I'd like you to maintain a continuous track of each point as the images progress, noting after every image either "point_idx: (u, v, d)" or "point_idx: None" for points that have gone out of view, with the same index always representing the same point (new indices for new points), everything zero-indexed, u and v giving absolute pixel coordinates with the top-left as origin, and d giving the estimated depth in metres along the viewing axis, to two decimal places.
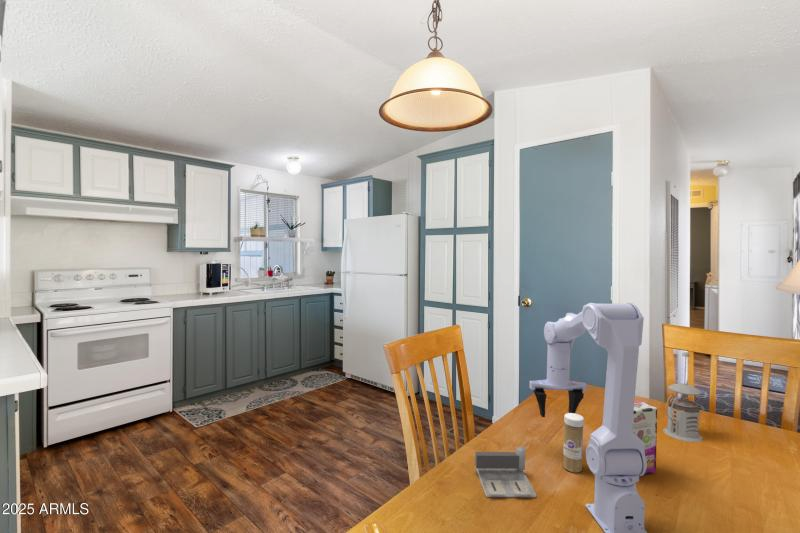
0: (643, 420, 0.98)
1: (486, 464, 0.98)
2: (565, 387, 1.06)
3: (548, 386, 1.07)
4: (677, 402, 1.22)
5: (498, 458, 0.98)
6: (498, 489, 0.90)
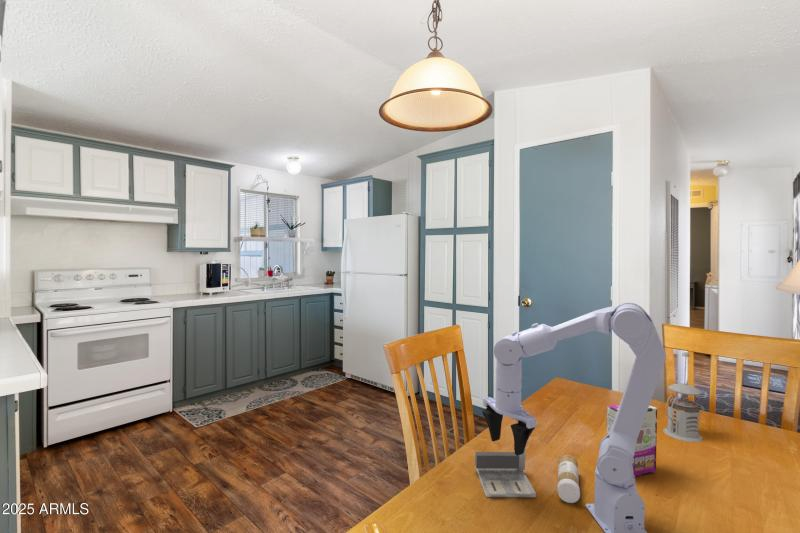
0: None
1: (486, 464, 0.98)
2: (502, 412, 0.90)
3: (491, 406, 0.94)
4: (677, 402, 1.22)
5: (498, 458, 0.98)
6: (498, 489, 0.90)
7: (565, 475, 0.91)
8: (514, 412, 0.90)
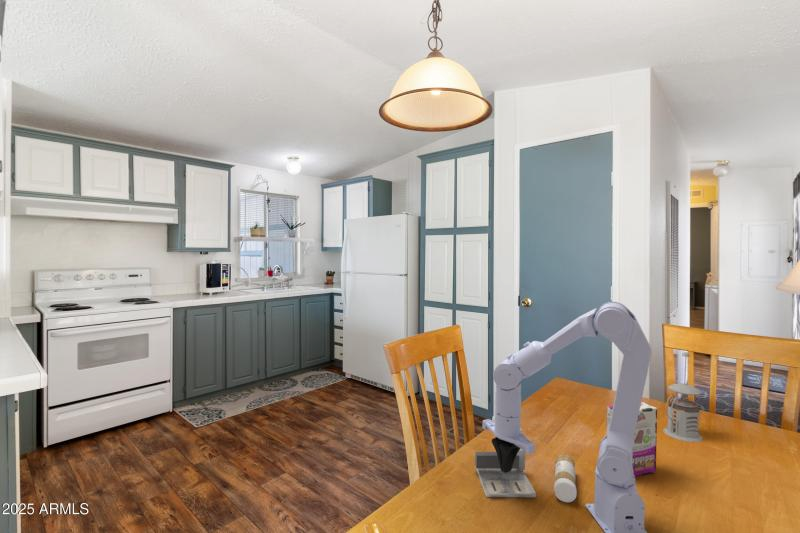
0: (643, 420, 0.98)
1: (486, 464, 0.98)
2: (501, 437, 0.90)
3: (490, 430, 0.94)
4: (677, 402, 1.22)
5: None
6: (498, 489, 0.90)
7: (559, 475, 0.91)
8: (513, 437, 0.90)
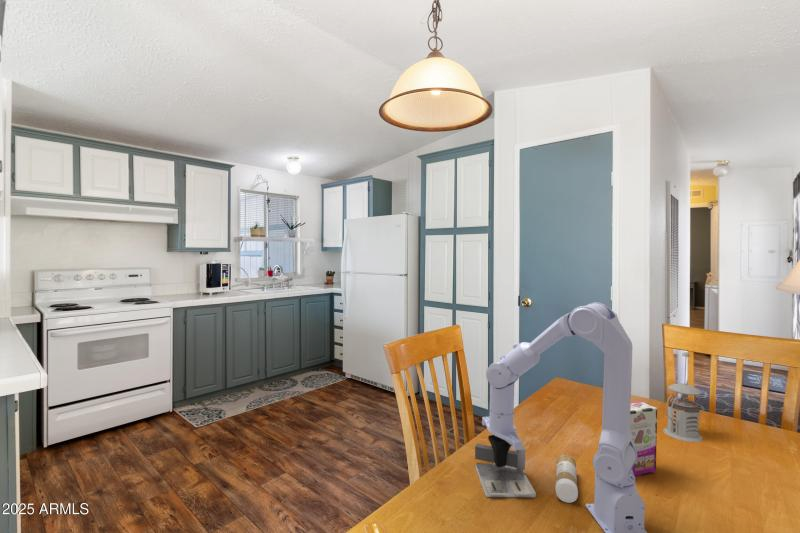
0: (643, 420, 0.98)
1: (484, 457, 1.01)
2: (493, 433, 0.96)
3: (486, 425, 1.00)
4: (677, 402, 1.22)
5: None
6: (498, 489, 0.90)
7: (561, 475, 0.91)
8: (504, 433, 0.95)
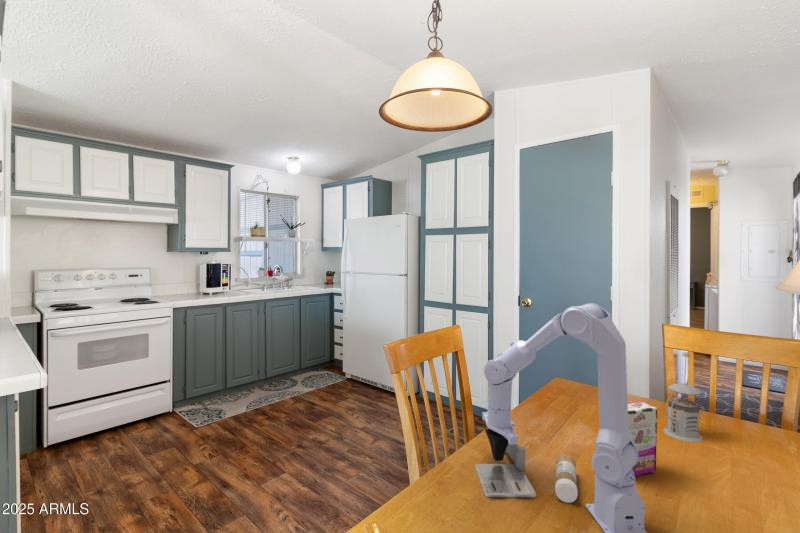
0: (643, 420, 0.98)
1: None
2: (490, 427, 0.99)
3: (485, 420, 1.04)
4: (677, 402, 1.22)
5: (509, 445, 1.04)
6: (498, 489, 0.90)
7: (561, 475, 0.91)
8: (501, 428, 0.98)
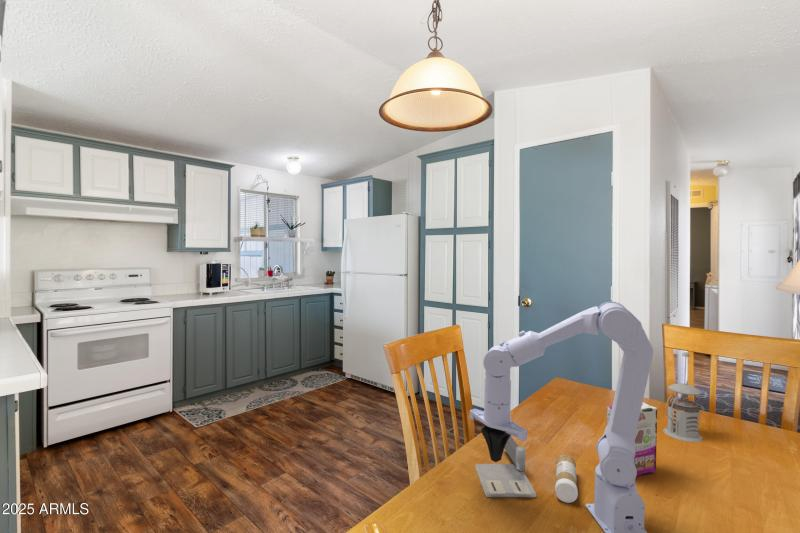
0: (643, 420, 0.98)
1: (505, 445, 1.07)
2: (492, 426, 0.88)
3: (479, 419, 0.92)
4: (677, 402, 1.22)
5: (509, 445, 1.04)
6: (498, 489, 0.90)
7: (561, 475, 0.91)
8: (504, 424, 0.88)
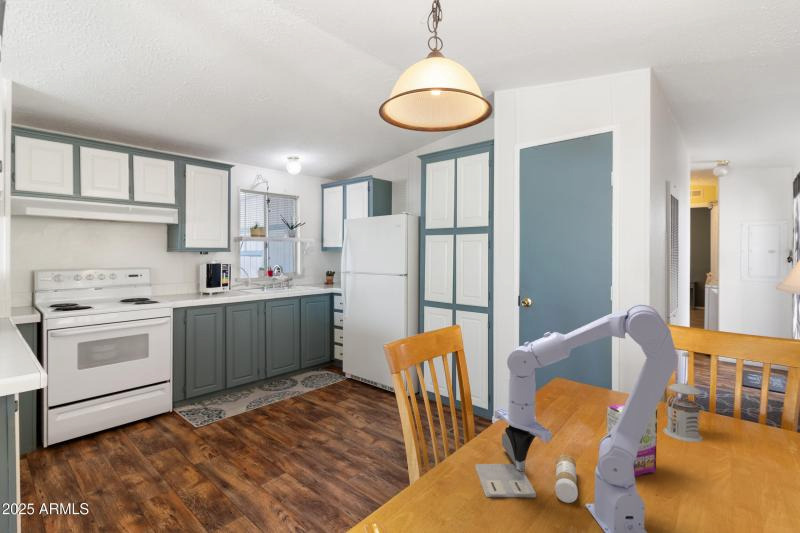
0: None
1: (505, 445, 1.07)
2: (516, 425, 0.88)
3: (504, 418, 0.92)
4: (677, 402, 1.22)
5: (509, 445, 1.04)
6: (498, 489, 0.90)
7: (561, 475, 0.91)
8: (528, 425, 0.88)
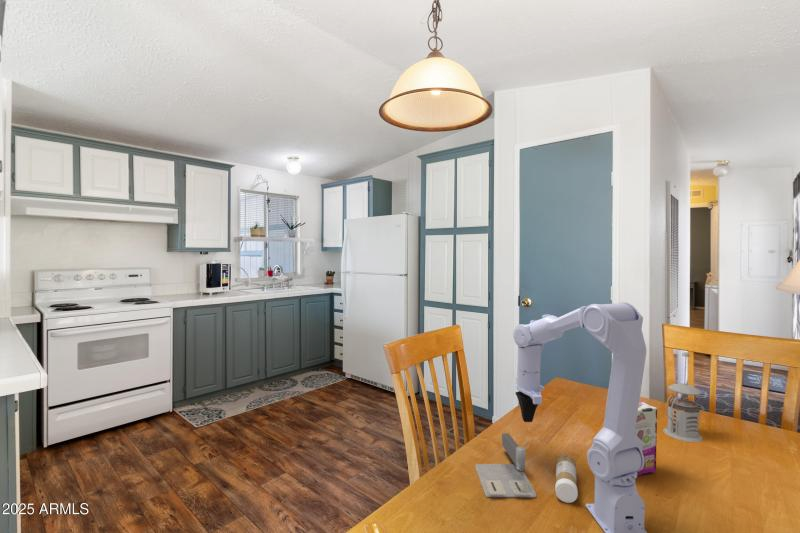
0: (643, 420, 0.98)
1: (505, 445, 1.07)
2: (518, 388, 1.04)
3: None
4: (677, 402, 1.22)
5: (509, 445, 1.04)
6: (498, 489, 0.90)
7: (561, 475, 0.91)
8: (528, 390, 1.03)
